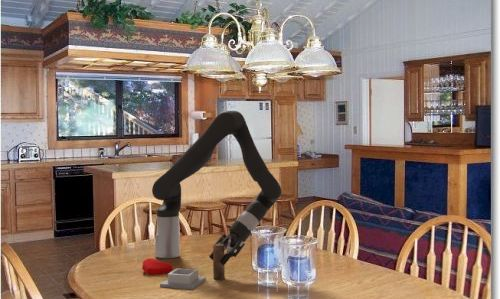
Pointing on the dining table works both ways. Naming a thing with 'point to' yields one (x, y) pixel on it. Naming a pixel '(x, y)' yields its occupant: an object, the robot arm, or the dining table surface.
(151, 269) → the heart
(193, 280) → the gray flanged square socket
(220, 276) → the dark brown block
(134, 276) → the dining table surface
